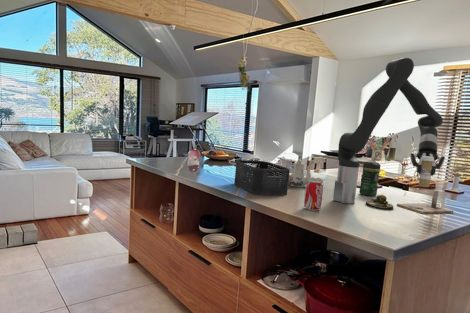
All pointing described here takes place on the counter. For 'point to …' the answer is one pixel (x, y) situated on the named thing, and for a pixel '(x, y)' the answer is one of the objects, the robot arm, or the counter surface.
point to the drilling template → (426, 206)
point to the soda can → (313, 195)
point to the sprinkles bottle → (426, 171)
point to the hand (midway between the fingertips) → (425, 173)
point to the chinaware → (300, 175)
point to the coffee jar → (370, 178)
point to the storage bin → (262, 178)
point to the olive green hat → (380, 202)
